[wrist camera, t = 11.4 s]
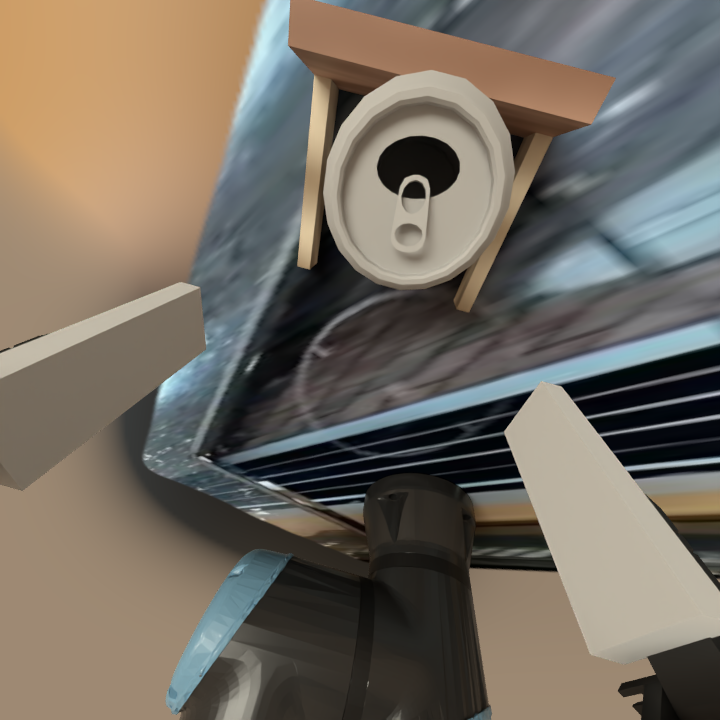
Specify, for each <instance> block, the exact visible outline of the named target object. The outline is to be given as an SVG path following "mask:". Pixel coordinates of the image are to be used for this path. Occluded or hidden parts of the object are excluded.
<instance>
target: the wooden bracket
mask: <svg viewBox="0 0 720 720" xmlns="http://www.w3.org/2000/svg"><path fill="white" fill-rule="evenodd" d="M288 46H289V47H290V48H291V49H292V50H293V51H294V53H295V54H296V55H297V56H298V57H299V58H300V59H301V60H302V61H303V63H304V64H305V65H306V66H307V67H308V68H309V69H310V70H311V71H312V73H313V74H314V86H313V97H312V108H311V119H310V131H309V142H308V153H307V164H306V175H305V187H304V198H303V209H302V220H301V232H300V243H299V254H298V265H297V266H299V267H303V268H307V269H311V268H312V267H313V266H314V265H315V264H317V258H318V251H319V243H320V235H321V227H322V219H323V211H324V204H325V202H324V195H323V190H324V182H325V174H326V166H327V159H328V156H329V154H330V151H331V149H332V141H333V133H334V125H335V117H336V110H337V102H338V94H339V89H340V90H344V91H348V92H352V93H356V94H359V95H363V96H366V95H368V94H369V93H371V92H372V91H374V90H375V89H377V88H379V87H380V86H382V85H383V84H385V83H386V82H388V81H390V80H391V79H393V78H394V77H396V76H401V75H406V74H412V73H417V72H423V71H428V70H434V71H438V72H442V73H446V74H450V75H453V76H457V77H461V78H465V79H467V80H468V81H469V82H470V83H472V84H473V85H474V86H475V87H476V88H477V89H479V90H480V91H481V92H482V93H483V94H485V95H486V96H487V97H488V98H489V99H491V100H492V101H493V102H494V104H495V106H496V108H497V110H498V112H499V114H500V116H501V118H502V120H503V122H504V124H505V126H506V128H507V130H508V131H509V133H510V134H512V135H516V136H520V137H524V139H523V141H522V143H521V146H520V148H519V150H518V153H517V155H516V157H515V160H514V168H515V174H514V180H513V186H512V192H511V198H510V204H509V209H508V211H507V213H506V215H505V217H504V219H503V222H502V224H501V226H500V228H499V230H498V232H497V235H496V237H495V239H494V240H493V241H492V242H491V244H490V245H489V246H488V247H487V248H486V250H485V251H484V252H483V253H482V255H481V256H480V257H479V258H478V259H477V261H476V262H475V263H474V264H473V265H471V266H470V267H468V268H467V270H466V273H465V275H464V277H463V279H462V282H461V284H460V286H459V289H458V291H457V293H456V296H455V298H454V300H453V301H454V303H455V306H456V309H457V310H461V311H465V312H468V313H469V311H470V309H471V307H472V305H473V303H474V301H475V299H476V297H477V295H478V293H479V291H480V288H481V286H482V284H483V282H484V280H485V278H486V276H487V274H488V272H489V270H490V268H491V266H492V263H493V261H494V259H495V257H496V255H497V253H498V251H499V249H500V247H501V245H502V243H503V241H504V238H505V236H506V234H507V232H508V230H509V228H510V226H511V224H512V222H513V220H514V218H515V216H516V213H517V211H518V209H519V207H520V205H521V203H522V201H523V199H524V197H525V195H526V193H527V191H528V189H529V186H530V184H531V182H532V180H533V178H534V176H535V174H536V172H537V170H538V168H539V166H540V164H541V161H542V159H543V157H544V155H545V153H546V151H547V149H548V147H549V145H550V143H551V141H552V139H553V137H555V136H558V135H561V134H564V133H567V132H570V131H573V130H576V129H579V128H582V127H585V126H588V125H591V124H592V122H593V120H594V118H595V116H596V115H597V113H598V111H599V109H600V107H601V105H602V103H603V101H604V100H605V98H606V96H607V94H608V92H609V90H610V88H611V86H612V84H613V83H614V81H615V79H616V78H614V77H610V76H606V75H602V74H598V73H594V72H591V71H587V70H583V69H579V68H575V67H571V66H567V65H563V64H559V63H556V62H552V61H548V60H544V59H540V58H536V57H532V56H528V55H524V54H521V53H517V52H513V51H509V50H505V49H501V48H497V47H493V46H489V45H486V44H482V43H478V42H474V41H470V40H466V39H462V38H458V37H454V36H450V35H447V34H443V33H439V32H435V31H431V30H427V29H423V28H419V27H415V26H412V25H408V24H404V23H400V22H396V21H392V20H388V19H384V18H380V17H377V16H373V15H369V14H365V13H361V12H357V11H353V10H349V9H345V8H342V7H338V6H334V5H330V4H326V3H322V2H318V1H314V0H290V18H289V39H288Z"/></svg>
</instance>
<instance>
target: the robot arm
mask: <svg viewBox="0 0 720 720" xmlns="http://www.w3.org/2000/svg"><path fill="white" fill-rule="evenodd" d="M204 350H206V343H205V332H204V322H203V312H202V302H201V292H200V287H196V286H193V285H189V284H185V283H182V282H180V283H177V284H175V285H172V286H170V287H167V288H165V289H162V290H159V291H157V292H154V293H152V294H149V295H147V296H144V297H142V298H140V299H137V300H134V301H132V302H129V303H127V304H124V305H121V306H119V307H116V308H114V309H111V310H109V311H106V312H104V313H101V314H99V315H96V316H94V317H91V318H88V319H86V320H83V321H81V322H78V323H76V324H73V325H71V326H68V327H66V328H63V329H61V330H58V331H55V332H53V333H51V334H46V335H41V336H37V337H35V338H32V339H30V340H27V341H25V342H22V343H19V344H17V345H14V347H13V348H7V349H4V350H1V351H0V484H1V485H4V486H8V487H11V488H15V489H18V490H24V489H25V488H27V487H28V486H29V485H30V484H32V483H33V482H34V481H36V480H37V479H38V478H40V477H41V476H42V475H43V474H45V473H46V472H47V471H49V470H50V469H51V468H52V467H54V466H55V465H56V464H58V463H59V462H60V461H62V460H63V459H64V458H66V457H67V456H68V455H69V454H71V453H72V452H73V451H75V450H76V449H77V448H78V447H80V446H81V445H82V444H84V443H85V442H86V441H88V440H89V439H90V438H91V437H93V436H94V435H95V434H97V433H98V432H99V431H101V430H102V429H103V428H104V427H106V426H107V425H108V424H110V423H111V422H112V421H113V420H115V419H116V418H117V417H119V416H120V415H121V414H123V413H124V412H125V411H126V410H128V409H129V408H130V407H132V406H133V405H134V404H136V403H137V402H138V401H139V400H141V399H142V398H143V397H145V396H146V395H147V394H149V393H150V392H151V391H152V390H154V389H155V388H156V387H158V386H159V385H160V384H161V383H163V382H164V381H165V380H167V379H168V378H169V377H171V376H172V375H173V374H174V373H176V372H177V371H178V370H180V369H181V368H182V367H184V366H185V365H186V364H187V363H189V362H190V361H191V360H193V359H194V358H195V357H197V356H198V355H199V354H200V353H202V352H203V351H204ZM504 433H505V436H506V438H507V441H508V443H509V446H510V449H511V451H512V454H513V456H514V459H515V461H516V464H517V467H518V469H519V472H520V474H521V477H522V479H523V482H524V485H525V487H526V490H527V492H528V495H529V498H530V500H531V503H532V505H533V508H534V510H535V513H536V516H537V518H538V521H539V523H540V526H541V528H542V531H543V534H544V536H545V539H546V541H547V544H548V547H549V549H550V552H551V554H552V557H553V559H554V562H555V565H556V567H557V570H558V572H559V575H560V577H561V580H562V583H563V585H564V588H565V590H566V593H567V595H568V598H569V601H570V603H571V606H572V608H573V611H574V614H575V616H576V619H577V621H578V624H579V626H580V629H581V631H582V634H583V637H584V639H585V642H586V644H587V647H588V649H589V652H590V655H593V656H597V657H600V658H604V659H607V660H611V661H614V662H618V663H621V664H628V663H631V662H635V661H638V660H641V659H645V658H648V659H649V661H650V663H651V665H652V667H653V669H654V671H655V673H656V675H652V676H648V677H644V678H641V679H637V680H633V681H629V682H625V683H622V684H621V686H620V688H619V690H618V692H619V693H620V694H621V695H622V696H623V697H627V696H632V695H636V694H641V693H642V694H643V701H642V702H637V703H635V704H633V707H634V708H635V710H636V711H637V712H638V713H639V714H640V715H641V720H720V583H719V582H718V580H717V579H716V578H715V576H714V575H713V574H712V573H711V571H710V570H709V569H708V568H707V566H706V565H705V564H704V563H703V561H702V560H701V559H700V557H699V556H698V555H696V554H694V553H693V549H692V547H691V546H690V545H689V544H688V542H687V541H686V540H685V538H684V537H683V536H682V535H679V534H678V530H677V528H676V527H675V526H674V524H673V523H672V522H671V521H670V519H669V518H668V517H667V516H666V514H665V513H664V512H663V511H662V509H661V508H660V507H659V506H657V505H656V504H655V503H654V502H653V501H652V500H651V499H650V498H649V497H648V496H647V495H646V494H645V493H644V492H642V490H641V489H640V488H639V486H638V485H637V484H636V482H635V481H634V480H633V479H632V477H631V476H630V475H629V473H628V472H627V471H626V469H625V468H624V467H623V466H622V464H621V463H620V462H619V460H618V459H617V458H616V457H615V455H614V454H613V453H612V451H611V450H610V449H609V447H608V446H607V445H606V444H605V442H604V441H603V440H602V438H601V437H600V436H599V435H598V433H597V432H596V431H595V429H594V428H593V427H592V425H591V424H590V423H589V422H588V420H587V419H586V418H585V416H584V415H583V414H582V412H581V411H580V410H579V409H578V407H577V406H576V405H575V403H574V402H573V401H572V400H571V398H570V397H569V396H568V394H567V393H566V392H565V390H564V389H563V388H562V387H561V386H557V385H553V384H550V383H546V382H543V381H541V382H540V384H539V385H538V386H537V388H536V389H535V390H534V392H533V393H532V394H531V396H530V397H529V399H528V400H527V401H526V403H525V404H524V405H523V407H522V408H521V409H520V411H519V412H518V414H517V415H516V416H515V418H514V419H513V420H512V422H511V423H510V424H509V426H508V427H507V428H506V430H505V431H504ZM363 517H364V523H365V529H366V536H367V542H368V548H369V555H370V566H369V575H368V578H364V577H361V576H358V575H354V574H351V573H348V572H344V571H341V570H338V569H335V568H331V567H328V566H324V565H321V564H318V563H314V562H311V561H308V560H304V559H301V558H298V557H294V556H293V554H291V553H290V554H287V555H286V554H282V553H278V552H273V551H269V550H265V549H256V550H254V551H251V552H249V553H248V554H246V555H245V556H244V557H243V558H242V559H241V560H240V561H239V562H238V563H237V564H236V565H235V567H234V568H233V569H232V571H231V572H230V573H229V575H228V576H227V578H226V579H225V581H224V582H223V584H222V585H221V587H220V588H219V590H218V591H217V593H216V595H215V596H214V598H213V600H212V601H211V603H210V605H209V607H208V608H207V610H206V612H205V613H204V615H203V617H202V619H201V620H200V622H199V624H198V626H197V628H196V629H195V631H194V633H193V635H192V637H191V639H190V641H189V643H188V645H187V647H186V649H185V651H184V653H183V655H182V657H181V659H180V661H179V663H178V665H177V668H176V670H175V672H174V675H173V678H172V682H171V685H170V687H169V689H168V692H167V695H166V705H167V707H169V708H170V709H171V711H172V714H178V713H179V712H181V717H180V720H491V715H492V712H491V706H490V705H489V704H488V697H487V690H486V684H485V677H484V671H483V665H482V657H481V650H480V644H479V638H478V631H477V624H476V617H475V610H474V604H473V597H472V592H471V584H470V577H469V568H470V561H471V554H472V547H473V540H474V534H475V526H476V523H475V515H474V510H473V505H472V502H471V499H470V498H469V496H468V495H467V494H466V493H465V492H464V491H463V490H462V489H461V488H459V487H458V486H456V485H455V484H453V483H451V482H449V481H447V480H445V479H442V478H439V477H435V476H431V475H426V474H418V473H403V474H395V475H391V476H387V477H384V478H382V479H380V480H378V481H376V482H375V483H374V484H372V485H371V486H370V487H369V489H368V490H367V492H366V495H365V501H364V508H363Z"/></svg>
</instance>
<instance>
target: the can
mask: <svg viewBox="0 0 720 720" xmlns="http://www.w3.org/2000/svg"><path fill="white" fill-rule="evenodd" d="M514 174H515V168H514V161H513V153H512V145H511V138H510V133H509V131H508V130H507V128H506V126H505V124H504V122H503V120H502V118H501V116H500V114H499V112H498V110H497V108H496V106H495V104H494V102H493V101H492V100H491V99H489V98H488V97H487V96H486V95H485V94H483V93H482V92H481V91H480V90H479V89H477V88H476V87H475V86H474V85H473V84H472V83H470V82H469V81H468V80H467V79H465V78H461V77H457V76H453V75H450V74H446V73H442V72H438V71H434V70H428V71H423V72H417V73H412V74H406V75H401V76H396V77H394V78H393V79H391V80H390V81H388V82H386V83H385V84H383V85H382V86H380V87H379V88H377V89H375V90H374V91H372V92H371V93H369V94H368V95H366V96H364V98H363V99H362V100H361V101H360V103H359V104H358V105H357V106H356V108H355V109H354V110H353V111H352V113H351V114H350V115H349V116H348V118H347V119H346V120H345V121H344V123H343V124H342V125H341V127H340V130H339V132H338V134H337V137H336V139H335V142H334V144H333V147H332V149H331V151H330V154H329V156H328V159H327V166H326V174H325V182H324V190H323V195H324V202H325V209H326V216H327V224H328V226H329V228H330V231H331V233H332V235H333V238H334V240H335V242H336V244H337V247H338V249H339V251H340V252H341V253H342V254H343V255H344V257H345V258H346V259H347V260H348V261H349V263H350V264H351V265H352V266H353V267H354V269H355V270H356V271H358V272H359V273H361V274H363V275H364V276H366V277H367V278H369V279H370V280H372V281H373V282H375V283H376V284H380V285H384V286H387V287H391V288H395V289H398V290H411V289H426V288H429V287H432V286H435V285H438V284H441V283H443V282H446V281H449V280H451V279H453V278H454V277H455V276H457V275H458V274H460V273H461V272H463V271H464V270H465V269H467V268H468V267H470V266H471V265H473V264H474V263H475V262H476V261H477V259H478V258H479V257H480V256H481V255H482V253H483V252H484V251H485V250H486V248H487V247H488V246H489V245H490V244H491V242H492V241H493V240H494V239H495V237H496V235H497V232H498V230H499V228H500V226H501V224H502V222H503V219H504V217H505V215H506V213H507V211H508V209H509V204H510V198H511V192H512V186H513V180H514Z"/></svg>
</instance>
